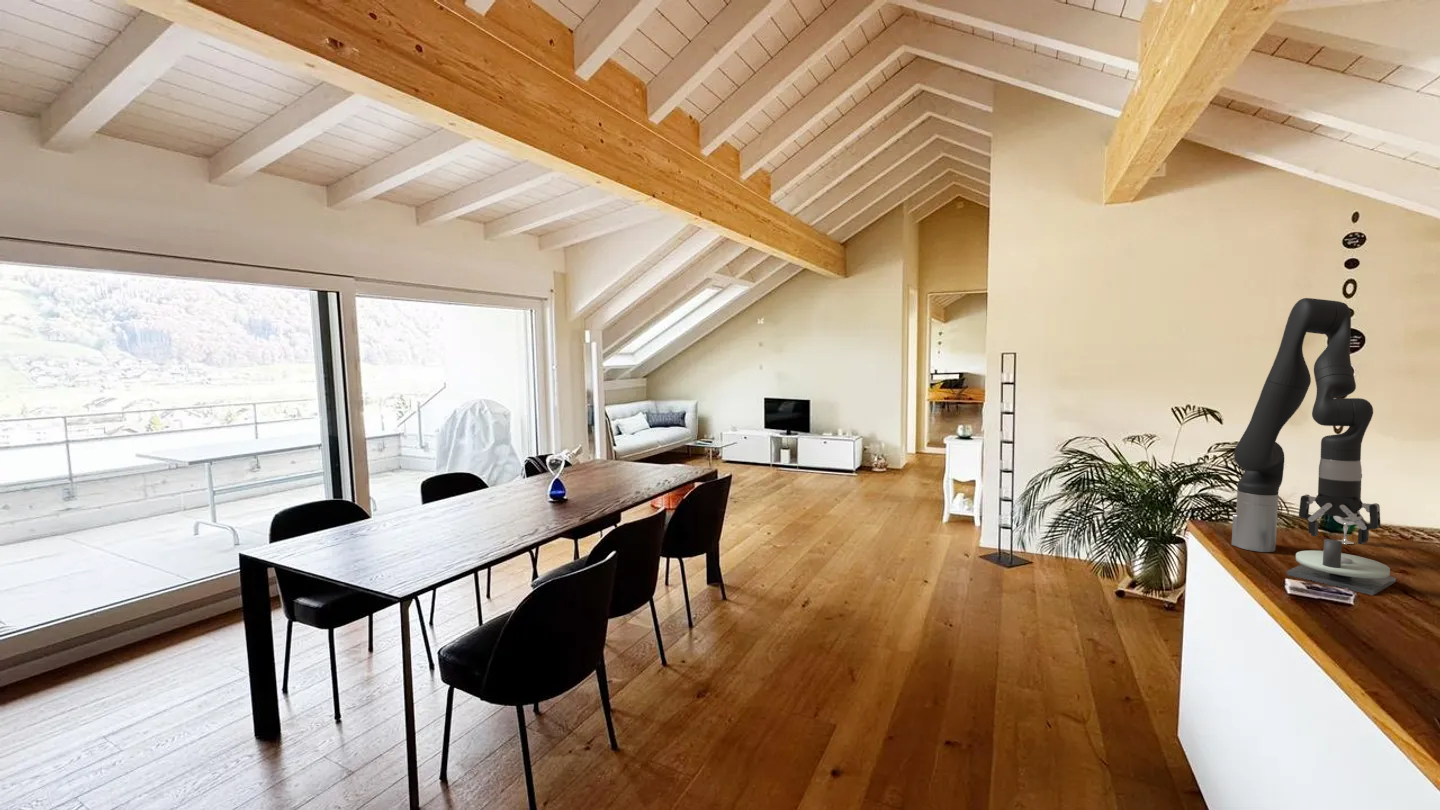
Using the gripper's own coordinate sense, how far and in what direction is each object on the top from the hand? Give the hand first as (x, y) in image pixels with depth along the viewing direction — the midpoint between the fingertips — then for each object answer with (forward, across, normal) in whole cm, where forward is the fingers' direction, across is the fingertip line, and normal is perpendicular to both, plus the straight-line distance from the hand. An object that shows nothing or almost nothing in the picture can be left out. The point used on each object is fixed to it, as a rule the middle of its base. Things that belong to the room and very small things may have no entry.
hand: (1337, 539), depth 151 cm
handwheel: (+8, -1, +6) cm, 10 cm away
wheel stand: (+12, -1, +6) cm, 13 cm away
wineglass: (+12, -10, +46) cm, 49 cm away
